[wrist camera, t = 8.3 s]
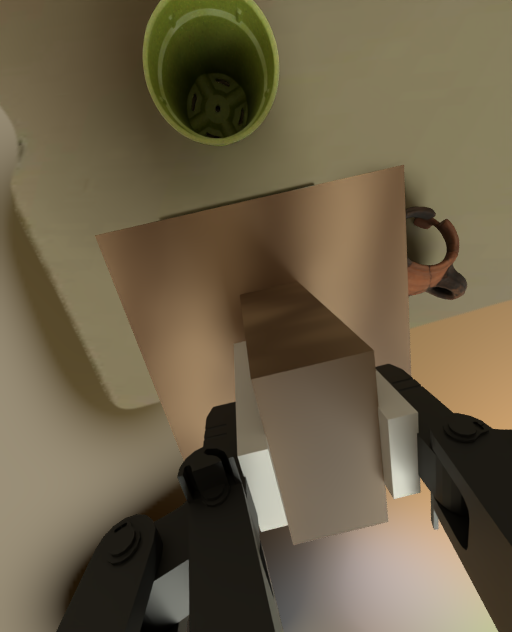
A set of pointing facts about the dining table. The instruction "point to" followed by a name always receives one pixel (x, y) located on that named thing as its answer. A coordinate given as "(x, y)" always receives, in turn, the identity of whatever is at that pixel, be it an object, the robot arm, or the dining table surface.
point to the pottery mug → (442, 275)
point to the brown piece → (281, 330)
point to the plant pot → (211, 67)
